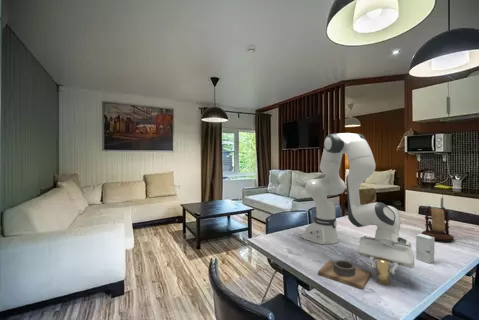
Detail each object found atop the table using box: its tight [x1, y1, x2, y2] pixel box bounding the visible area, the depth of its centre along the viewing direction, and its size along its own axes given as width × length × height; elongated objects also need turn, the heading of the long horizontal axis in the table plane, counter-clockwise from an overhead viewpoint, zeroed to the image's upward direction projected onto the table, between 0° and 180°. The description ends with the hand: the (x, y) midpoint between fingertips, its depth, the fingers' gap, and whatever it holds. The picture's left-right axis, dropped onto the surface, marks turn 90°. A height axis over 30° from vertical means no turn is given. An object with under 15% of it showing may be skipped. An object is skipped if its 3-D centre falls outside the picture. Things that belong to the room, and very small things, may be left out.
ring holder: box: [317, 259, 372, 290], centre depth 98 cm, size 18×14×4 cm
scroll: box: [421, 205, 455, 243], centre depth 137 cm, size 15×15×20 cm
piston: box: [376, 258, 391, 286], centre depth 92 cm, size 4×4×9 cm
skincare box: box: [415, 233, 436, 264], centre depth 110 cm, size 6×4×12 cm
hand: (382, 270), depth 91 cm, fingers open, 5 cm apart
